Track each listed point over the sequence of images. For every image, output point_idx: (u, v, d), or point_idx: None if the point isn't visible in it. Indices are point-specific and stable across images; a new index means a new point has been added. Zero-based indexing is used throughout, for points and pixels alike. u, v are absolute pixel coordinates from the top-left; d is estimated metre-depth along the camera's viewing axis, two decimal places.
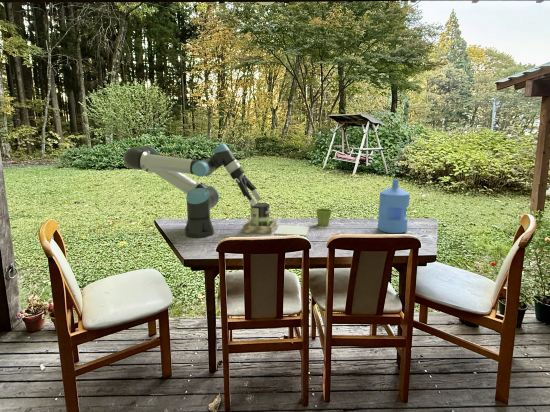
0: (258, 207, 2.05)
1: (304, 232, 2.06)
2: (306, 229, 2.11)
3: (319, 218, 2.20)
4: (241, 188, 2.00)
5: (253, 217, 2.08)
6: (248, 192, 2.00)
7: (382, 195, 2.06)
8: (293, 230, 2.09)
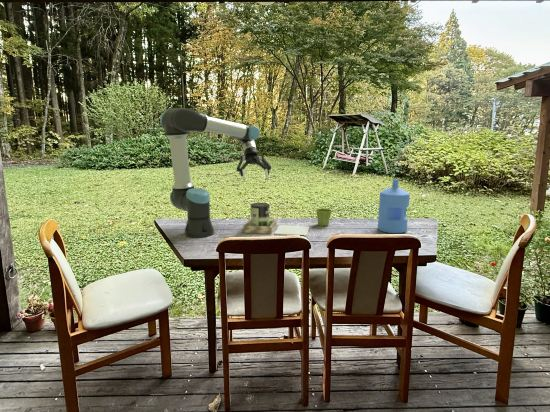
0: (258, 207, 2.05)
1: (304, 232, 2.06)
2: (306, 229, 2.11)
3: (319, 218, 2.20)
4: None
5: (253, 217, 2.08)
6: None
7: (382, 195, 2.06)
8: (293, 230, 2.09)
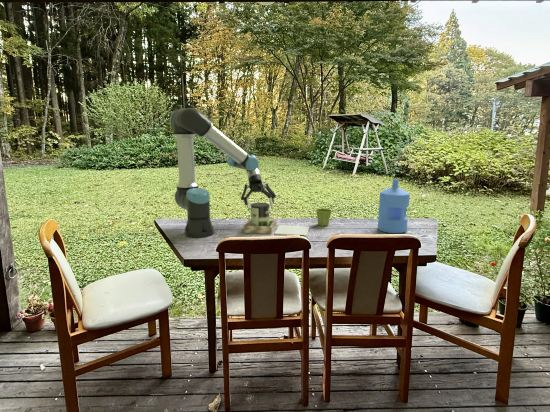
0: (258, 207, 2.05)
1: (304, 232, 2.06)
2: (306, 229, 2.11)
3: (319, 218, 2.20)
4: None
5: (253, 217, 2.08)
6: None
7: (382, 195, 2.06)
8: (293, 230, 2.09)
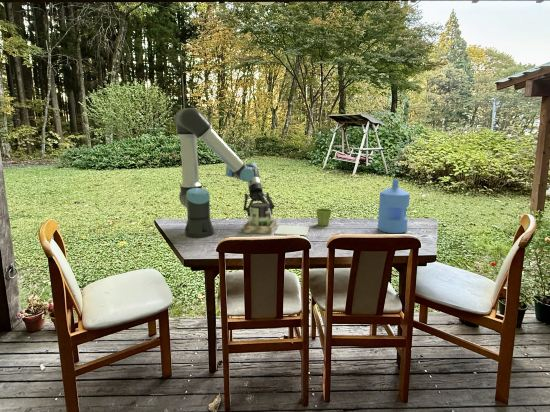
0: (258, 207, 2.05)
1: (304, 232, 2.06)
2: (306, 229, 2.11)
3: (319, 218, 2.20)
4: None
5: (253, 217, 2.08)
6: None
7: (382, 195, 2.06)
8: (293, 230, 2.09)
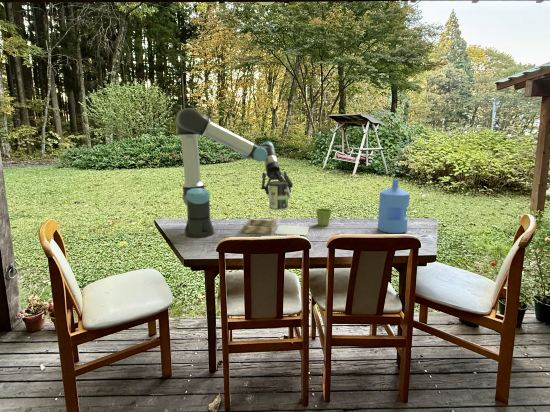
0: (277, 185, 2.02)
1: (304, 232, 2.06)
2: (306, 229, 2.11)
3: (319, 218, 2.20)
4: None
5: (272, 195, 2.05)
6: None
7: (382, 195, 2.06)
8: (293, 230, 2.09)
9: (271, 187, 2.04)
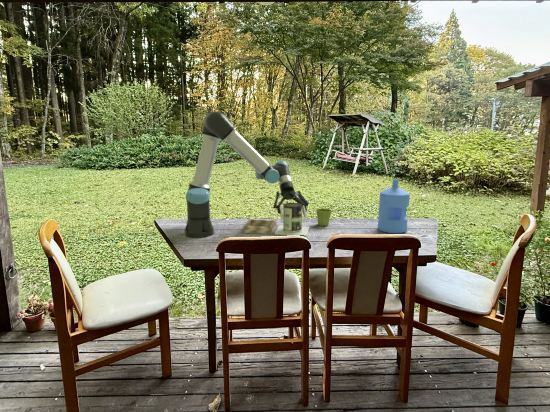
0: (291, 207, 2.02)
1: (304, 232, 2.06)
2: (306, 229, 2.11)
3: (319, 218, 2.20)
4: None
5: (286, 217, 2.05)
6: None
7: (382, 195, 2.06)
8: None
9: (285, 209, 2.04)
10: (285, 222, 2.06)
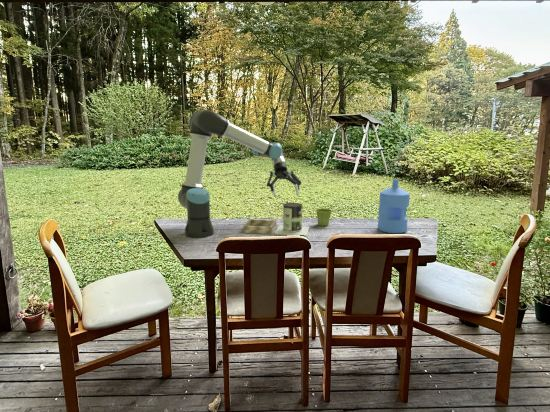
0: (291, 207, 2.02)
1: (304, 232, 2.06)
2: (306, 229, 2.11)
3: (319, 218, 2.20)
4: None
5: (286, 217, 2.05)
6: None
7: (382, 195, 2.06)
8: None
9: (285, 209, 2.04)
10: (285, 222, 2.06)
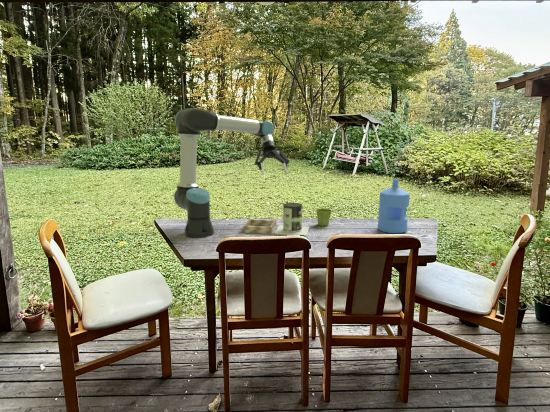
0: (291, 207, 2.02)
1: (304, 232, 2.06)
2: (306, 229, 2.11)
3: (319, 218, 2.20)
4: None
5: (286, 217, 2.05)
6: None
7: (382, 195, 2.06)
8: None
9: (285, 209, 2.04)
10: (285, 222, 2.06)
